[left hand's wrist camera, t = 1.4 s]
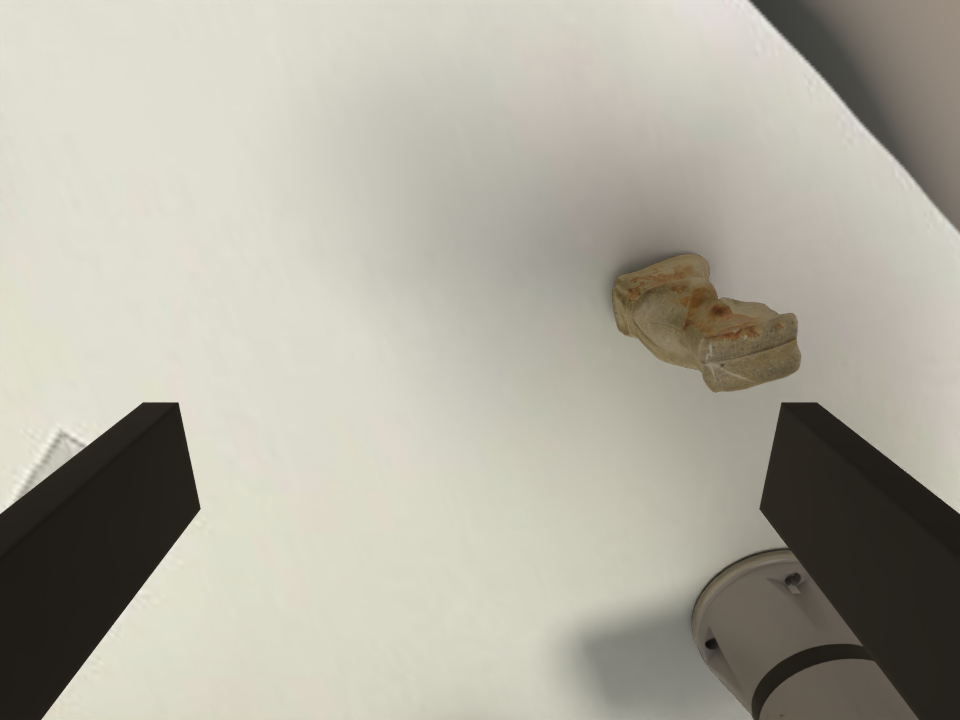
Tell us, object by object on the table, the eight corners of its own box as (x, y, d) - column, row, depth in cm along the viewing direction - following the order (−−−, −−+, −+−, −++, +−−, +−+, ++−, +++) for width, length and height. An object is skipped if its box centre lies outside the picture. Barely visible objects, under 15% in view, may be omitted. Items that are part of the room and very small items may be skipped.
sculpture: (705, 316, 43) (813, 401, 29) (609, 334, 44) (671, 426, 30) (700, 239, 41) (814, 292, 27) (600, 259, 42) (661, 320, 28)
